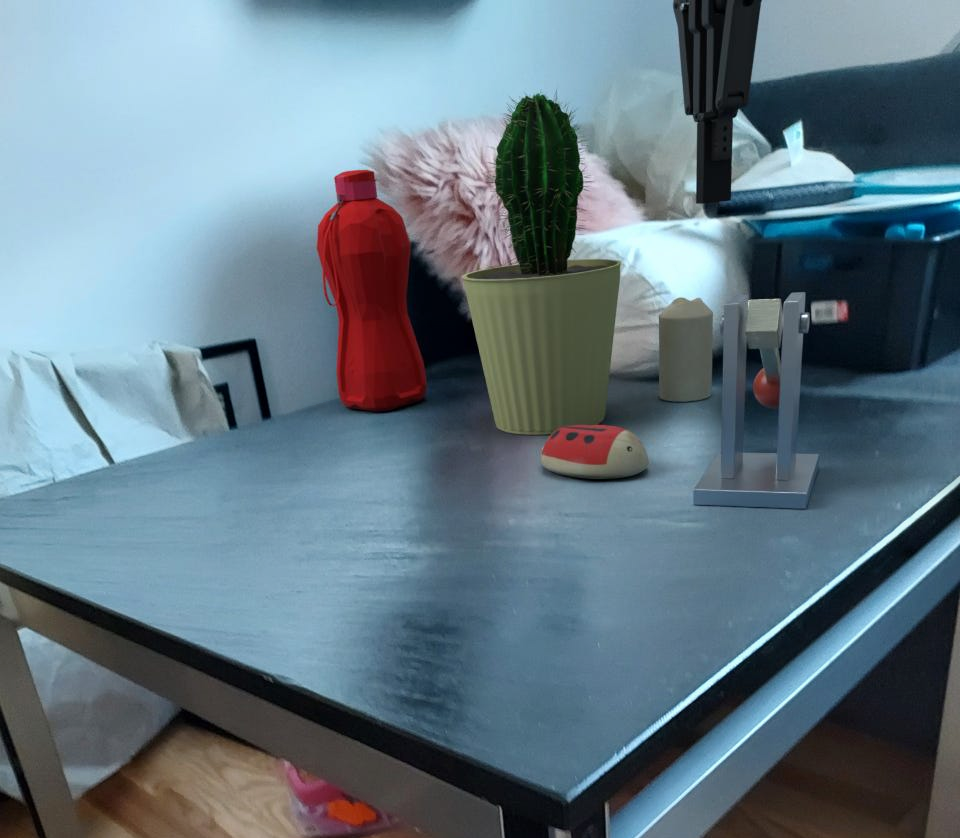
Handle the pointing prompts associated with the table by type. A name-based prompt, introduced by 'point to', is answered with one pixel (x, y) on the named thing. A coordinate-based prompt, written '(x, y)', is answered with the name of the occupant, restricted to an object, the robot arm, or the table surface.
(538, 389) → the potted cactus
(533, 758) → the table surface
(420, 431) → the table surface
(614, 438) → the ladybug figurine
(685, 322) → the candle
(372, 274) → the water bottle
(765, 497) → the bracket
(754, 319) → the lever
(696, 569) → the table surface
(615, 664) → the table surface
